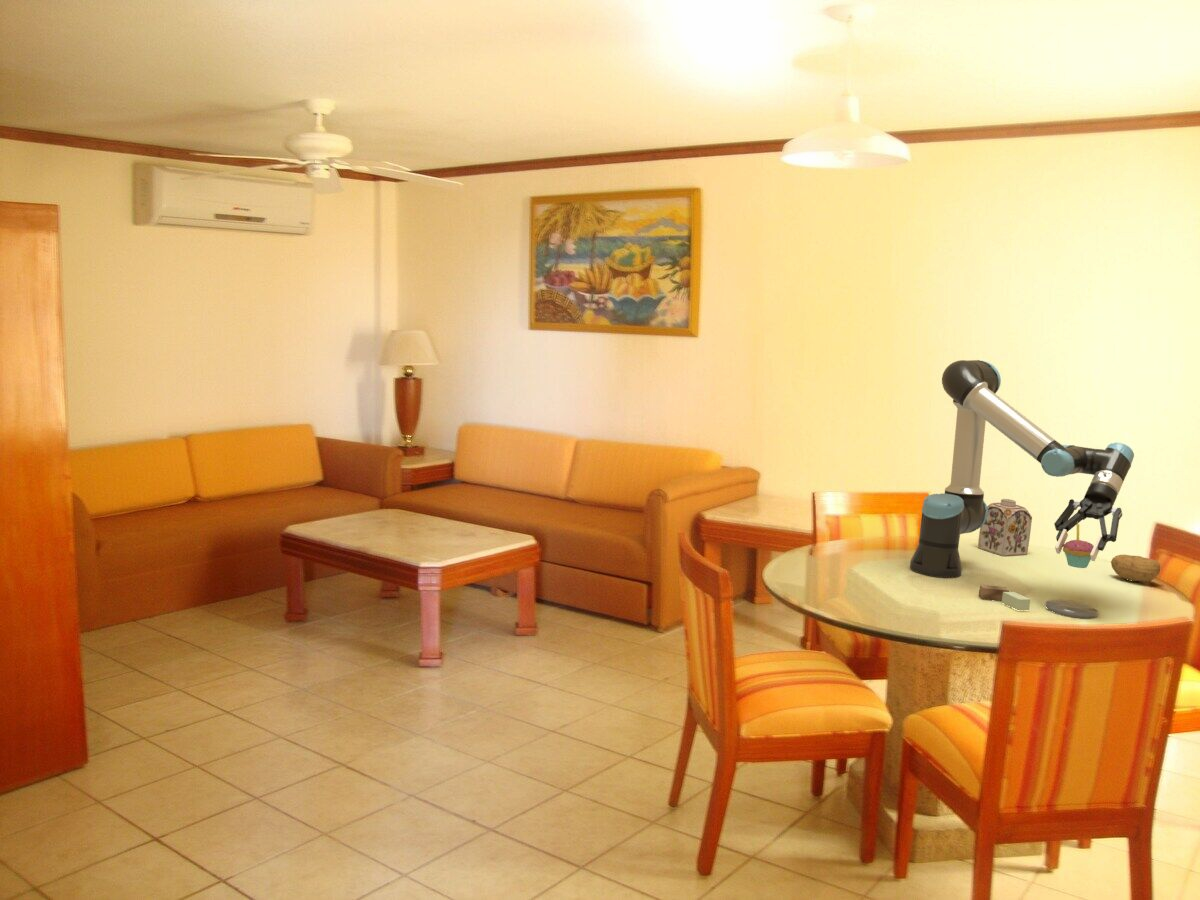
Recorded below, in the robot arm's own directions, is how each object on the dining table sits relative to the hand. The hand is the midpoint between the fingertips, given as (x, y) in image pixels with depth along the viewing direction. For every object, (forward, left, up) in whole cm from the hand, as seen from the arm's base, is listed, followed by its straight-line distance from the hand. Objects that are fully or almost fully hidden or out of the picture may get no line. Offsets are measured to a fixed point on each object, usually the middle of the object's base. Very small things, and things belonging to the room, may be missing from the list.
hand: (1074, 554), depth 275 cm
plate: (+1, +3, -16) cm, 17 cm away
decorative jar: (-20, +69, -17) cm, 74 cm away
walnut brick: (-19, +2, -17) cm, 25 cm away
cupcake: (+1, +3, -4) cm, 5 cm away
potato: (+19, +54, -17) cm, 60 cm away
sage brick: (-13, -3, -17) cm, 21 cm away
